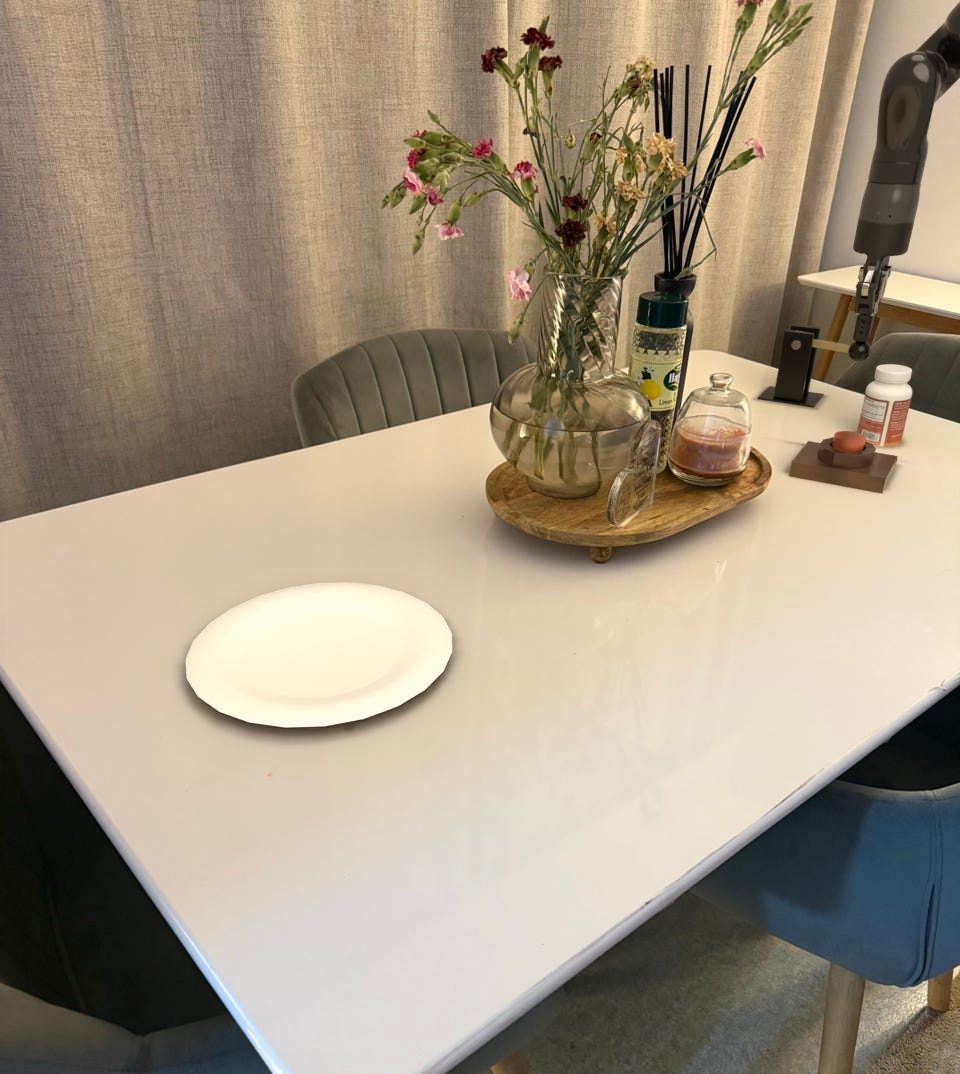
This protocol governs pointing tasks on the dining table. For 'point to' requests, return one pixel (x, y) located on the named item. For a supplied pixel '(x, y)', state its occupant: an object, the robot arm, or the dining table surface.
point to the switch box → (844, 466)
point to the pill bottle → (886, 405)
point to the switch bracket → (795, 369)
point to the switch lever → (845, 348)
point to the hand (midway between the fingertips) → (860, 340)
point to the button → (848, 441)
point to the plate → (319, 655)
